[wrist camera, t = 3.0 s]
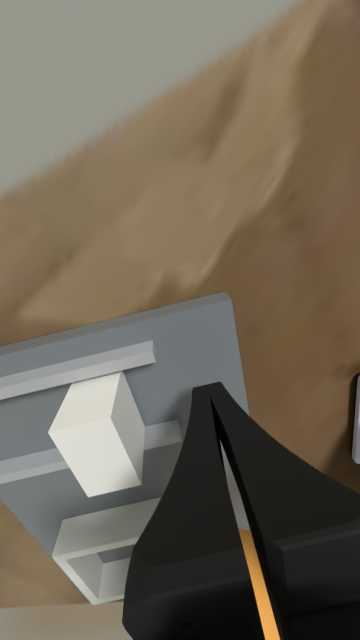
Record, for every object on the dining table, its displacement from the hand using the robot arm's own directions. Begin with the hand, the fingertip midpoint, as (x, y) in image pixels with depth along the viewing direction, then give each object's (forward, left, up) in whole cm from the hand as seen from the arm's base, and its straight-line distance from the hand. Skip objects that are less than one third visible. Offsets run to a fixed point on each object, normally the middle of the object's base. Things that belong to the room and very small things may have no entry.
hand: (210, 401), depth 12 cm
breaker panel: (+6, +8, -3) cm, 10 cm away
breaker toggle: (+5, 0, -1) cm, 5 cm away
